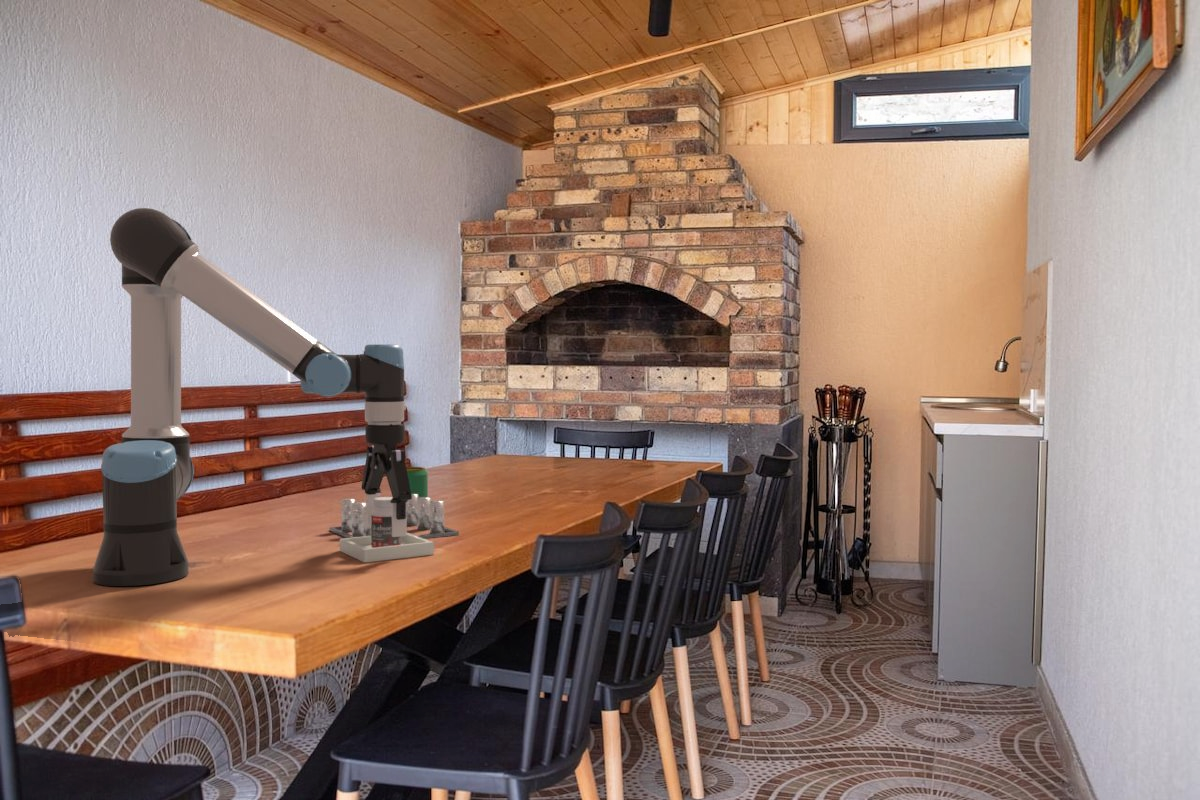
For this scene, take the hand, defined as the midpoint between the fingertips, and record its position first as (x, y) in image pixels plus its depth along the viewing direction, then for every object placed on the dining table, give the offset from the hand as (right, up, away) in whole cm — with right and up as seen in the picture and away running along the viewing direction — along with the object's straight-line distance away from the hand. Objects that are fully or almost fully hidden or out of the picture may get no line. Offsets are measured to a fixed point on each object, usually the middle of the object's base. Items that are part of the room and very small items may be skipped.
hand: (386, 531), depth 198 cm
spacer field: (-4, -3, +24) cm, 25 cm away
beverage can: (-3, -3, +43) cm, 44 cm away
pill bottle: (0, -4, 0) cm, 4 cm away
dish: (0, -4, 0) cm, 4 cm away
